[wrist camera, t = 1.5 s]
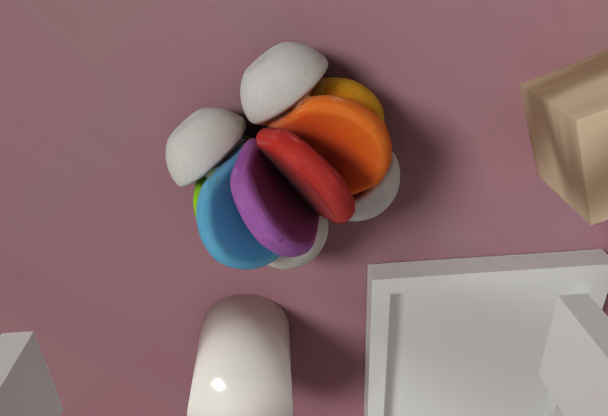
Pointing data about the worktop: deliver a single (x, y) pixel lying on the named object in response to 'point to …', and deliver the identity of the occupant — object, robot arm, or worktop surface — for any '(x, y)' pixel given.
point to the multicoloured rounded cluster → (285, 161)
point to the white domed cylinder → (243, 360)
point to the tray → (469, 331)
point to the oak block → (572, 133)
